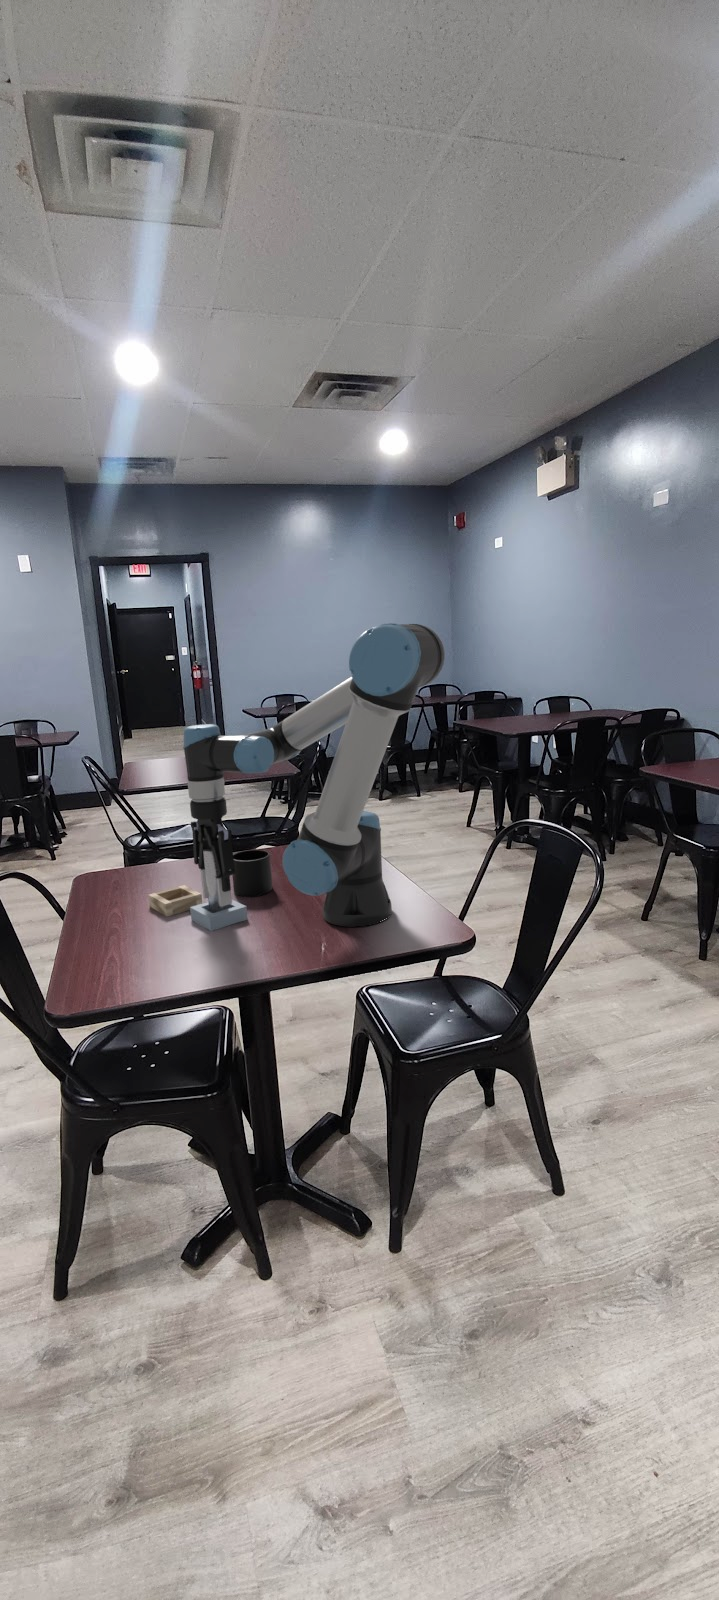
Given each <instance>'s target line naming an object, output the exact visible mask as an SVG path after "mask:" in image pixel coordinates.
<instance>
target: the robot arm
mask: <svg viewBox="0 0 719 1600" xmlns="http://www.w3.org/2000/svg"><path fill="white" fill-rule="evenodd" d="M445 656H446V653H445V648H444V643H443V641H442V639H441V638H440V637H439V635H438V634H437V633H436V632H435V631H434V630H432V629H431V628H430V627H428V626H426V625H422V624H420V623H418V624H417V623H408V624H407V623H406V624H397V623H384V624H383V623H382V624H380V625H377V626H373V627H371V628H369V629H367V630H365V631H364V632H363V633H362V634H360V636H358V637H357V639H356V640H355V642H354V643H353V645H352V647H351V649H350V654H349V658H348V668H349V671H350V673H351V676H350V677H349V678H346V679H345V680H344V681H343V682H340V683H339V684H338V685H336V686H335V687H333V688H332V689H330V690H328V691H327V692H325V693H323V694H322V695H321V696H319V697H317V698H316V699H314V700H313V701H311V702H310V703H308V704H306V705H304V706H303V707H301V708H300V709H298V710H297V711H295V712H294V713H292V714H290V715H289V716H287V717H286V718H284V719H283V720H281V721H280V722H278V723H277V724H274V726H272V727H269V728H266V729H264V730H258V731H254V732H251V733H246V734H240V735H225V734H224V735H223V734H221V732H220V727H219V726H218V725H217V724H209V723H208V724H195V725H190V726H187V727H185V728H184V729H183V751H184V759H185V767H186V774H187V775H186V778H187V780H186V781H187V790H188V797H189V799H191V800H190V801H189V807H190V809H189V810H190V815H191V818H193V819H195V820H193V821H190V827H191V833H192V848H193V849H192V850H193V862H194V864H195V865H198V868H199V870H200V876H201V877H200V878H201V889H202V899H204V900H206V899H208V894H207V884H206V874H205V864H204V854H203V850H205V849H207V848H212V851H213V855H214V859H215V863H216V867H217V871H218V875H219V876H216V878H217V887H218V897H219V906H221V907H222V906H225V905H229V904H232V900H233V899H232V897H233V896H232V888H231V887H232V886H231V876H232V875H233V874H235V865H234V857H233V854H234V852H233V851H234V849H233V844H232V829H230V828H227V829H225V827H224V823H223V817H224V816H226V815H227V813H228V811H227V809H228V808H227V799H226V798H225V794H226V792H225V783H226V780H225V779H224V778H225V777H224V773H225V772H226V773H240V774H242V773H243V774H248V775H253V774H263V773H266V772H268V771H269V769H270V768H271V767H272V766H273V765H274V764H278V763H281V762H286V761H289V760H291V759H293V758H295V757H297V756H298V755H300V753H301V751H302V750H303V749H306V748H307V747H309V746H310V745H312V744H314V743H315V742H317V741H319V740H321V739H322V738H324V737H325V736H327V735H329V734H331V733H333V732H334V731H336V730H338V729H339V728H341V727H343V726H344V728H343V731H342V733H341V737H340V739H339V742H338V746H337V748H336V751H335V754H334V757H333V760H332V762H331V766H330V768H329V771H328V774H327V777H326V780H325V783H324V786H323V789H322V791H321V795H320V797H319V800H318V804H317V806H316V809H315V811H313V812H310V813H309V814H307V815H306V816H305V817H304V821H303V823H302V826H301V829H300V832H299V835H298V837H297V838H296V839H295V840H293V841H291V842H290V844H288V845H287V846H286V848H285V850H284V851H283V854H282V869H283V871H284V874H285V875H286V876H287V880H288V881H289V883H290V885H292V886H293V887H294V888H295V889H296V890H297V891H299V892H300V893H303V894H305V895H308V896H312V897H315V896H321V895H324V894H325V897H324V901H323V904H322V917H323V919H324V921H326V922H328V923H329V924H331V925H334V926H335V925H336V926H337V927H338V926H339V927H346V928H348V927H349V928H353V927H354V928H357V927H356V926H361V927H366V926H365V925H369V926H371V925H370V924H373V925H375V924H374V923H377V922H380V921H382V920H384V919H386V918H388V917H389V916H390V915H391V916H392V914H391V913H392V912H393V911H392V910H393V909H392V908H393V907H392V901H391V899H390V896H389V894H388V893H389V892H388V890H387V888H386V885H385V882H384V881H383V865H382V864H383V863H382V861H383V860H382V840H381V838H382V836H381V831H382V828H381V824H380V817H379V815H377V814H376V813H374V812H372V811H368V810H367V811H365V807H366V804H367V801H368V799H369V796H370V793H371V791H372V789H373V785H374V783H375V780H376V777H377V774H378V772H379V770H380V766H381V764H382V761H383V759H384V756H385V753H386V750H387V748H388V746H389V743H390V740H391V737H392V735H393V732H394V729H395V727H396V724H397V722H398V719H399V717H400V716H401V715H403V714H406V713H408V712H409V711H410V710H411V708H412V706H413V703H414V701H415V697H416V695H417V692H418V689H419V688H420V687H425V686H426V685H428V684H430V683H432V682H434V680H435V679H436V678H438V676H439V675H440V673H441V672H442V670H443V667H444V665H445V664H444V663H445ZM391 916H390V917H391ZM390 917H389V918H390ZM389 918H388V919H389ZM386 920H387V919H386ZM382 922H383V921H382ZM380 923H381V922H380ZM377 924H378V923H377Z"/></svg>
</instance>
